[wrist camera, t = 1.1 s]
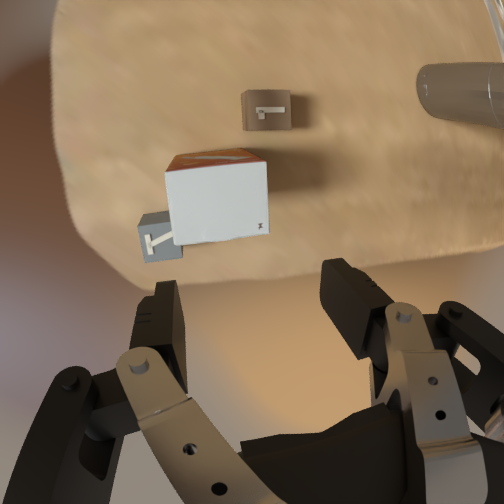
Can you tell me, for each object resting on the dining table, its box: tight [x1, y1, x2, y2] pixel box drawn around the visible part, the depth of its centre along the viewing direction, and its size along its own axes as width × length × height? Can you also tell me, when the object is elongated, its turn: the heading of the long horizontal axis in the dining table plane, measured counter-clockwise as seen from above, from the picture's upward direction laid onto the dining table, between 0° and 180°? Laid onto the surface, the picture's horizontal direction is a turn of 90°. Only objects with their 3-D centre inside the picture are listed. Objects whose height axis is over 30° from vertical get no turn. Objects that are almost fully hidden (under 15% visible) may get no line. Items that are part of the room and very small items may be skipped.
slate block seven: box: [138, 211, 183, 263], centre depth 33 cm, size 4×4×5 cm
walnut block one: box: [241, 90, 291, 131], centre depth 30 cm, size 4×4×5 cm
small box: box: [165, 148, 270, 246], centre depth 28 cm, size 8×6×13 cm
